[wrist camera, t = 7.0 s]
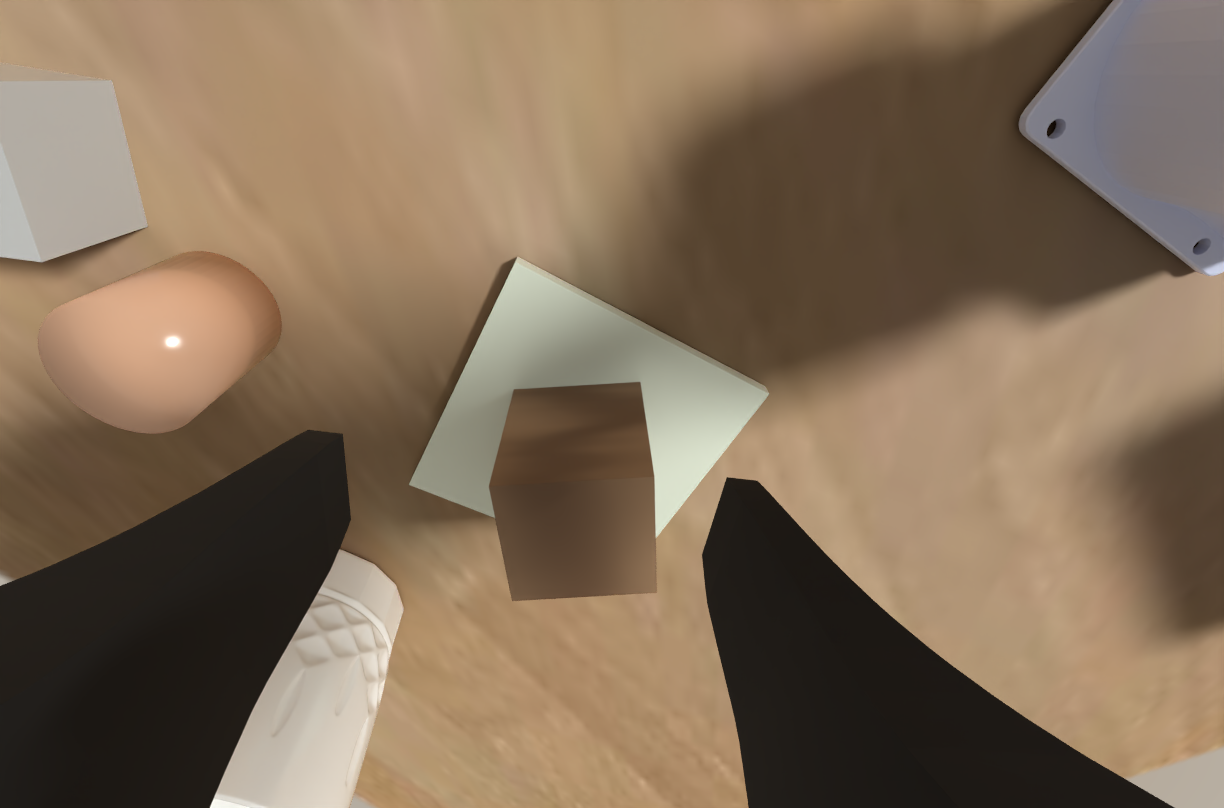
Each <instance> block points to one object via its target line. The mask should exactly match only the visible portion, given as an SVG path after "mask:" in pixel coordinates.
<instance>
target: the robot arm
mask: <svg viewBox="0 0 1224 808" xmlns="http://www.w3.org/2000/svg"><path fill="white" fill-rule="evenodd" d="M1054 120H1055V121H1056V128H1055V130H1054V132H1053V133H1052V134H1051V135H1050V136H1047V128H1048V127H1049V125H1050V124H1051V123H1052V122H1053V121H1054ZM1019 131H1020V132H1021V133H1022V135H1023V136H1024V137H1026V138H1027V139H1028V140H1029V141H1031V142H1032V143H1033V144H1035V145H1036V146H1037V147H1038V148H1040V149H1041V150H1042V151H1043V152H1045V153H1046V154H1047V155H1049V156H1050V157H1051V158H1052V159H1054V160H1055V161H1056V162H1057V163H1059V164H1060V165H1061V166H1063V167H1064V168H1065V169H1066V170H1068V171H1069V172H1070V173H1071V174H1073V175H1074V176H1075V177H1077V178H1078V179H1079V180H1080V181H1082V182H1083V183H1084V184H1085V185H1087V186H1088V187H1089V188H1091V189H1092V190H1093V191H1094V192H1096V193H1097V194H1098V195H1099V196H1101V197H1102V198H1103V199H1105V200H1106V201H1107V202H1108V203H1110V204H1111V205H1112V206H1113V207H1115V208H1116V209H1117V210H1119V211H1120V212H1121V213H1122V214H1124V215H1125V216H1126V217H1127V218H1129V219H1130V220H1131V221H1133V222H1134V223H1135V224H1136V225H1138V226H1139V227H1140V228H1141V229H1143V230H1144V231H1145V232H1147V233H1148V234H1149V235H1150V236H1152V237H1153V238H1154V239H1155V240H1157V241H1158V242H1159V243H1161V244H1162V245H1163V246H1164V247H1166V248H1167V249H1168V250H1169V251H1171V252H1172V253H1173V254H1175V255H1176V256H1177V257H1178V258H1180V259H1181V260H1182V261H1183V262H1185V263H1186V264H1187V265H1189V266H1190V267H1191V268H1192V269H1194V270H1195V271H1196V272H1199V273H1201V274H1204V275H1208V276H1215V275H1218V274H1220V273H1222V272H1224V0H1113V1H1112V2H1111V4H1110V5H1109V6H1108V7H1107V9H1106V10H1105V11H1104V12H1103V14H1102V15H1101V16H1100V17H1099V18H1098V20H1097V21H1096V22H1095V23H1094V25H1093V26H1092V27H1091V28H1090V30H1089V31H1088V32H1087V33H1086V34H1085V36H1084V37H1083V38H1082V39H1081V41H1080V42H1079V43H1078V44H1077V46H1076V47H1075V48H1074V49H1073V51H1072V52H1071V53H1070V54H1069V55H1068V57H1067V58H1066V59H1065V60H1064V62H1063V63H1062V64H1061V65H1060V67H1059V68H1058V69H1057V70H1056V71H1055V73H1054V74H1053V75H1052V76H1051V78H1050V79H1049V80H1048V81H1047V83H1046V84H1045V85H1044V86H1043V87H1042V89H1041V90H1040V91H1039V92H1038V94H1037V95H1036V96H1035V97H1034V99H1033V100H1032V101H1031V102H1030V104H1029V105H1028V106H1027V107H1026V108H1025V110H1024V111H1023V113H1022V115H1021V116H1020V120H1019ZM1198 241H1199V244H1198V245H1197V246H1196V247H1195V248H1194V249H1193V247H1194V246H1195V244H1196V243H1197V242H1198ZM350 520H351V516H350V506H349V495H348V484H347V474H346V463H345V453H344V442H343V434H339V433H330V432H321V431H313V430H307V431H305V432H303V433H301V434H299V435H298V436H296V437H294V438H292V439H290V440H289V441H287V442H285V443H283V444H282V445H280V446H278V447H277V448H275V449H273V450H272V451H270V452H268V453H267V454H265V455H263V456H262V457H260V458H258V459H256V460H255V461H253V462H251V463H250V464H248V465H246V466H245V467H243V468H241V469H239V470H238V471H236V472H234V473H233V474H231V475H229V476H227V477H226V478H224V479H222V480H220V481H219V482H217V483H215V484H214V485H212V486H210V487H208V488H207V489H205V490H203V491H201V492H200V493H198V494H196V495H194V496H192V497H190V498H188V499H186V500H185V501H183V502H181V503H179V504H177V505H175V506H173V507H171V508H169V509H168V510H166V511H164V512H162V513H160V514H158V515H156V516H154V517H152V518H151V519H149V520H147V521H145V522H143V523H141V524H139V525H137V526H136V527H133V528H131V529H129V530H127V531H125V532H123V533H121V534H119V535H117V536H115V537H113V538H111V539H109V540H107V541H105V542H102V543H100V544H98V545H96V546H94V547H92V548H89V549H87V550H85V551H83V552H80V553H78V554H76V555H74V556H71V557H69V558H67V559H65V560H63V561H60V562H58V563H56V564H54V565H51V566H49V567H47V568H44V569H42V570H39V571H37V572H35V573H32V574H30V575H27V576H25V577H22V578H20V579H17V580H14V581H12V582H9V583H7V584H4V585H2V586H0V808H210V806H211V804H212V801H213V799H214V797H215V794H216V792H217V789H218V787H219V785H220V782H221V780H222V778H223V775H224V773H225V771H226V768H227V766H228V764H229V762H230V759H231V757H232V755H233V753H234V751H235V748H236V746H237V744H238V742H239V739H240V737H241V735H242V733H243V730H244V728H245V726H246V724H247V721H248V719H249V717H250V715H251V713H252V710H253V708H254V706H255V705H256V703H257V701H258V699H259V697H260V695H261V693H262V691H263V689H264V687H265V685H266V683H267V681H268V680H269V678H270V676H271V674H272V673H273V671H274V669H275V667H276V666H277V664H278V662H279V660H280V659H281V657H282V655H283V653H284V652H285V650H286V648H287V646H288V645H289V643H290V641H291V639H292V638H293V636H294V634H295V632H296V631H297V629H298V627H299V625H300V623H301V622H302V620H303V618H304V616H305V615H306V613H307V611H308V609H309V608H310V606H311V604H312V602H313V601H314V599H315V597H316V595H317V593H318V592H319V590H320V588H321V586H322V584H323V583H324V581H325V579H326V577H327V575H328V574H329V572H330V570H331V568H332V565H333V563H334V561H335V558H336V556H337V554H338V551H339V549H340V546H341V544H342V541H343V539H344V536H345V533H346V531H347V528H348V526H349V523H350ZM702 558H703V568H704V579H705V588H706V596H707V604H708V608H709V613H710V617H711V621H712V626H713V630H714V634H715V638H716V643H717V647H718V651H719V655H720V659H721V663H722V667H723V671H724V676H725V680H726V684H727V688H728V692H729V696H730V700H731V704H732V709H733V713H734V717H735V722H736V727H737V732H738V737H739V742H740V749H741V756H742V763H743V770H744V777H745V784H746V791H747V798H748V806H749V808H1174V807H1172V806H1170V805H1169V804H1167V803H1165V802H1164V801H1162V800H1160V799H1159V798H1157V797H1155V796H1153V795H1152V794H1150V793H1148V792H1146V791H1145V790H1143V789H1141V788H1139V787H1138V786H1136V785H1134V784H1133V783H1131V782H1129V781H1128V780H1126V779H1124V778H1122V777H1121V776H1119V775H1117V774H1115V773H1114V772H1112V771H1110V770H1109V769H1107V768H1105V767H1103V766H1102V765H1100V764H1098V763H1096V762H1095V761H1093V760H1091V759H1090V758H1088V757H1086V756H1085V755H1083V754H1081V753H1080V752H1078V751H1077V750H1075V749H1073V748H1072V747H1070V746H1069V745H1067V744H1066V743H1064V742H1062V741H1061V740H1059V739H1058V738H1056V737H1055V736H1053V735H1052V734H1050V733H1048V732H1047V731H1045V730H1044V729H1042V728H1041V727H1039V726H1038V725H1036V724H1034V723H1033V722H1031V721H1030V720H1028V719H1027V718H1025V717H1024V716H1022V715H1021V714H1019V713H1018V712H1016V711H1015V710H1013V709H1012V708H1010V707H1009V706H1008V705H1006V704H1005V703H1003V702H1002V701H1000V700H999V699H997V698H996V697H994V696H993V695H992V694H990V693H989V692H987V691H986V690H985V689H983V688H982V687H981V686H979V685H978V684H976V683H975V682H974V681H972V680H971V679H970V678H968V677H967V676H966V675H964V674H963V673H961V672H960V671H959V670H957V669H956V668H955V667H953V666H952V665H950V664H949V663H948V662H947V661H945V660H944V659H943V658H941V657H940V656H939V655H938V654H936V653H935V652H934V651H932V650H931V649H930V648H929V647H927V646H926V645H925V644H924V643H923V642H921V641H920V640H919V639H918V638H917V637H915V636H914V635H913V634H912V633H911V632H909V631H908V630H907V629H906V628H904V627H903V626H902V625H901V624H900V623H898V622H897V621H896V620H895V619H894V618H892V617H891V616H890V615H889V614H888V613H887V612H886V611H885V610H883V609H882V608H881V607H880V606H879V605H878V604H877V603H876V602H875V601H873V600H872V599H871V598H870V597H869V596H868V595H867V594H866V593H865V592H864V591H863V590H862V589H861V588H860V587H859V586H858V585H857V584H856V583H854V582H853V581H852V580H851V579H850V578H849V577H848V576H847V575H846V574H845V573H844V572H843V571H842V570H841V569H840V568H839V567H838V566H837V565H836V564H835V563H834V562H833V561H832V560H831V559H830V558H829V557H828V556H827V555H826V554H825V553H824V552H823V551H822V550H821V548H820V547H819V546H818V545H817V544H816V543H815V542H814V541H813V540H812V539H811V538H810V537H809V536H808V535H807V534H806V533H805V531H804V530H803V529H802V528H801V527H800V526H799V525H798V524H797V523H796V522H795V521H794V519H793V518H792V517H791V516H790V515H789V514H788V513H787V512H786V511H785V510H784V509H783V507H782V506H781V505H780V504H779V503H778V502H777V501H776V500H775V499H774V498H773V497H772V495H771V494H770V493H769V492H768V491H767V490H766V489H765V488H764V487H763V486H762V485H761V484H760V483H759V482H758V481H754V480H745V479H736V478H728V477H727V479H726V482H725V485H724V488H723V491H722V494H721V498H720V501H719V504H718V507H717V510H716V513H715V516H714V519H713V522H712V526H711V529H710V532H709V535H708V538H707V541H706V544H705V547H704V550H703V554H702Z"/></svg>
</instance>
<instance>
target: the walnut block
mask: <svg viewBox="0 0 1224 808" xmlns="http://www.w3.org/2000/svg"><path fill="white" fill-rule="evenodd" d="M489 491H490V496H491V500H492V505H493V510H494V515H495V520H496V525H497V530H498V535H499V539H500V544H501V549H502V554H503V559H504V564H505V569H506V574H507V578H508V583H509V588H510V593H511V598H512V601H521V600H538V599H556V598H573V597H590V596H607V595H625V594H642V593H657V578H656V528H655V477H654V470H653V463H652V457H651V450H650V443H649V436H648V430H647V423H646V416H645V409H644V403H643V396H642V389H641V383H640V382H628V383H612V384H595V385H578V386H561V387H544V388H528V389H514V390H513V394H512V398H511V402H510V406H509V409H508V413H507V417H506V421H505V425H504V429H503V433H502V437H501V441H500V444H499V448H498V452H497V456H496V460H495V464H494V468H493V472H492V475H491V479H490V483H489Z"/></svg>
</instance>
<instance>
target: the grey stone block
mask: <svg viewBox="0 0 1224 808" xmlns="http://www.w3.org/2000/svg"><path fill="white" fill-rule="evenodd" d="M145 227H148V225H147V221H146V217H145V213H144V209H143V205H142V201H141V197H140V192H139V188H138V184H137V180H136V176H135V172H134V168H133V164H132V160H131V156H130V152H129V148H128V144H127V140H126V136H125V131H124V127H123V123H122V119H121V115H120V111H119V107H118V103H117V99H116V95H115V91H114V87H113V83H112V80H107V79H101V78H94V77H88V76H82V75H76V74H70V73H64V72H58V71H52V70H45V69H39V68H33V67H27V66H21V65H15V64H9V63H3V62H0V257H6V258H13V259H21V260H28V261H36V262H44V261H47V260H50V259H53V258H56V257H59V256H62V255H65V254H68V253H71V252H74V251H77V250H80V249H83V248H86V247H89V246H92V245H95V244H98V243H101V242H104V241H107V240H110V239H112V238H115V237H118V236H121V235H124V234H127V233H130V232H133V231H136V230H139V229H142V228H145Z"/></svg>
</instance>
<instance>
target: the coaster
mask: <svg viewBox="0 0 1224 808" xmlns="http://www.w3.org/2000/svg"><path fill="white" fill-rule="evenodd" d="M628 382H640V383H641V389H642V396H643V403H644V409H645V416H646V423H647V430H648V436H649V443H650V450H651V457H652V463H653V470H654V477H655V528H656V537H657V536H658V535H659V534H660V532H661V531H662V530H663V528H664V527H665V526H666V525H667V523H668V522H669V521H670V520H671V518H672V517H673V516H674V514H675V513H676V512H677V511H678V509H679V508H680V507H681V506H682V504H683V503H684V502H685V501H686V499H687V498H688V497H689V495H690V494H691V493H692V492H693V490H694V489H695V488H696V487H697V485H698V484H699V483H700V481H701V480H702V479H703V478H704V476H705V475H706V474H707V473H708V471H709V470H710V469H711V467H712V466H713V465H714V464H715V462H716V461H717V460H718V459H719V457H720V456H721V455H722V454H723V452H724V451H725V450H726V448H727V447H728V446H729V445H730V443H731V442H732V441H733V440H734V438H735V437H736V436H737V434H738V433H739V432H740V431H741V429H742V428H743V427H744V426H745V424H746V423H747V422H748V421H749V419H750V418H751V417H752V415H753V414H754V413H755V412H756V410H757V409H758V408H759V407H760V405H761V404H762V403H763V401H764V400H765V399H766V398H767V396H768V395H769V392H768V390H767V389H766V387H765V386H764V385H762V384H760V383H758V382H756V381H754V380H753V379H751V378H749V377H747V376H745V375H743V374H741V373H739V372H737V371H735V370H733V369H731V368H730V367H728V366H726V365H724V364H722V363H720V362H718V361H716V360H714V359H712V358H710V357H709V356H707V355H705V354H703V353H701V352H699V351H697V350H695V349H693V348H691V347H689V346H688V345H686V344H684V343H682V342H680V341H678V340H676V339H674V338H672V337H670V336H668V335H666V334H665V333H663V332H661V331H659V330H657V329H655V328H653V327H651V326H649V325H647V324H645V323H644V322H642V321H640V320H638V319H636V318H634V317H632V316H630V315H628V314H626V313H624V312H623V311H621V310H619V309H617V308H615V307H613V306H611V305H609V304H607V303H605V302H603V301H601V300H600V299H598V298H596V297H594V296H592V295H590V294H588V293H586V292H584V291H582V290H580V289H579V288H577V287H575V286H573V285H571V284H569V283H567V282H565V281H563V280H561V279H559V278H558V277H556V276H554V275H552V274H550V273H548V272H546V271H544V270H542V269H540V268H538V267H537V266H535V265H533V264H531V263H529V262H527V261H525V260H523V259H521V258H519V257H517V259H516V261H515V263H514V265H513V267H512V269H511V271H510V273H509V276H508V278H507V280H506V282H505V284H504V286H503V288H502V290H501V292H500V294H499V296H498V299H497V301H496V303H495V305H494V307H493V309H492V311H491V313H490V315H489V317H488V319H487V322H486V324H485V326H484V328H483V330H482V332H481V334H480V336H479V338H478V340H477V342H476V345H475V347H474V349H473V351H472V353H471V355H470V357H469V359H468V361H467V363H466V365H465V368H464V370H463V372H462V374H461V376H460V378H459V380H458V382H457V384H456V386H455V388H454V391H453V393H452V395H451V397H450V399H449V401H448V403H447V405H446V407H445V409H444V411H443V414H442V416H441V418H440V420H439V422H438V424H437V426H436V428H435V430H434V432H433V434H432V437H431V439H430V441H429V443H428V445H427V447H426V449H425V451H424V453H423V455H422V457H421V460H420V462H419V464H418V466H417V468H416V470H415V472H414V474H413V476H412V479H411V481H410V483H409V485H411V486H413V487H416V488H418V489H421V490H424V491H426V492H429V493H431V494H434V495H437V496H439V497H442V498H444V499H447V500H449V501H452V502H455V503H457V504H460V505H462V506H465V507H468V508H470V509H473V510H475V511H478V512H481V513H483V514H486V515H488V516H491V517H494V518H495V515H494V510H493V505H492V500H491V496H490V491H489V483H490V479H491V475H492V472H493V468H494V464H495V460H496V456H497V452H498V448H499V444H500V441H501V437H502V433H503V429H504V425H505V421H506V417H507V413H508V409H509V406H510V402H511V398H512V394H513V390H514V389H528V388H544V387H561V386H578V385H595V384H612V383H628Z"/></svg>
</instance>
